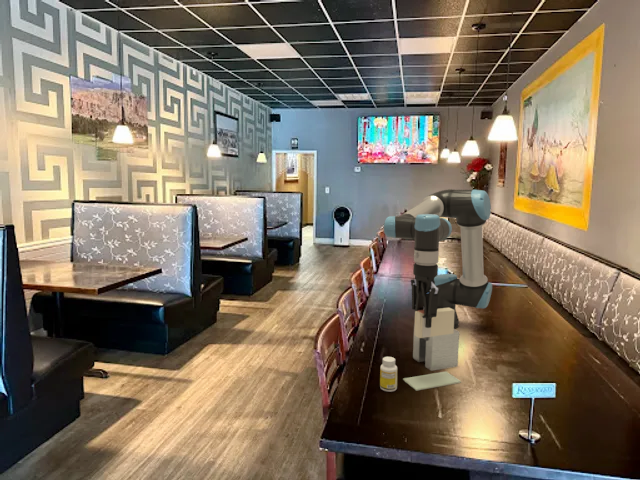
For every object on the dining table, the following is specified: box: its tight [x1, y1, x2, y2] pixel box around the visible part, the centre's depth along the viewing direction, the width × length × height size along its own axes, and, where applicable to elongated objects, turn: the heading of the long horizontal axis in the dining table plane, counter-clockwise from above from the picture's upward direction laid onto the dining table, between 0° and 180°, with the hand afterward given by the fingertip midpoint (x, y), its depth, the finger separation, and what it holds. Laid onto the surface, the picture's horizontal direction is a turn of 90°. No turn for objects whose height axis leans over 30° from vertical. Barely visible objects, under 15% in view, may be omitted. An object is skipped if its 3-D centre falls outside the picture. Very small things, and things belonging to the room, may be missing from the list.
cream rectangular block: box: [413, 308, 455, 338], centre depth 144 cm, size 13×3×8 cm, turn 110°
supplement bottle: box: [379, 356, 398, 393], centre depth 141 cm, size 5×5×10 cm
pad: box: [402, 370, 462, 391], centre depth 147 cm, size 17×8×1 cm, turn 110°
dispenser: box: [412, 323, 460, 372], centre depth 161 cm, size 12×12×13 cm
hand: (422, 334), depth 143 cm, fingers closed on cream rectangular block, 3 cm apart
